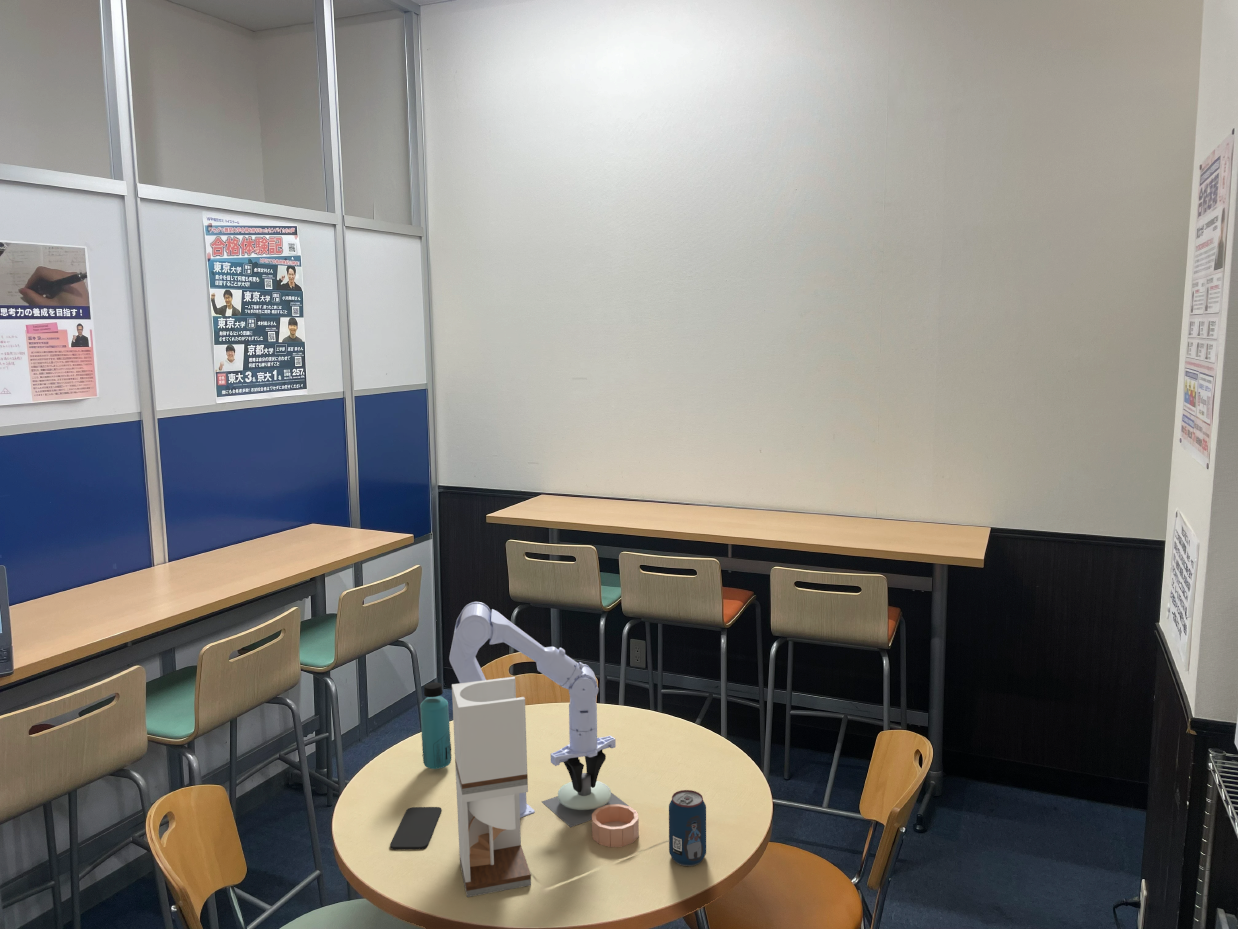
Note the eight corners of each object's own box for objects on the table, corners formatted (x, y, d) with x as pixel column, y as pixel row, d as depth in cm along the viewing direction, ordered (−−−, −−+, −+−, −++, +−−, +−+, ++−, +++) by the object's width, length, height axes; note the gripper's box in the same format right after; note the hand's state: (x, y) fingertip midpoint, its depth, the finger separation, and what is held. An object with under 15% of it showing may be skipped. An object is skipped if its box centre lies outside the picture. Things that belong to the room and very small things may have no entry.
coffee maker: (466, 897, 159) (458, 707, 154) (459, 863, 169) (451, 684, 164) (531, 885, 162) (525, 699, 157) (520, 852, 172) (514, 676, 167)
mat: (570, 829, 180) (570, 827, 180) (541, 803, 190) (541, 801, 190) (629, 807, 188) (629, 806, 188) (598, 784, 198) (598, 782, 198)
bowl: (608, 853, 171) (608, 834, 171) (583, 832, 179) (583, 813, 178) (647, 838, 176) (647, 819, 176) (621, 818, 184) (621, 799, 183)
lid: (575, 815, 181) (574, 795, 180) (548, 792, 190) (547, 773, 189) (621, 799, 187) (620, 779, 186) (593, 778, 196) (592, 758, 195)
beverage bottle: (449, 775, 202) (445, 690, 199) (419, 775, 203) (415, 690, 200) (455, 761, 209) (451, 679, 206) (426, 762, 209) (422, 679, 206)
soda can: (683, 843, 175) (682, 784, 173) (713, 855, 170) (713, 795, 168) (661, 859, 169) (661, 799, 168) (692, 873, 165) (692, 811, 163)
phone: (443, 806, 189) (426, 847, 174) (443, 810, 189) (427, 851, 174) (407, 807, 189) (388, 847, 174) (407, 810, 189) (388, 851, 174)
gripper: (562, 742, 179) (563, 806, 181) (623, 724, 187) (624, 785, 189) (544, 729, 185) (546, 791, 187) (604, 712, 193) (605, 772, 195)
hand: (584, 788), depth 188 cm, fingers closed on lid, 3 cm apart
